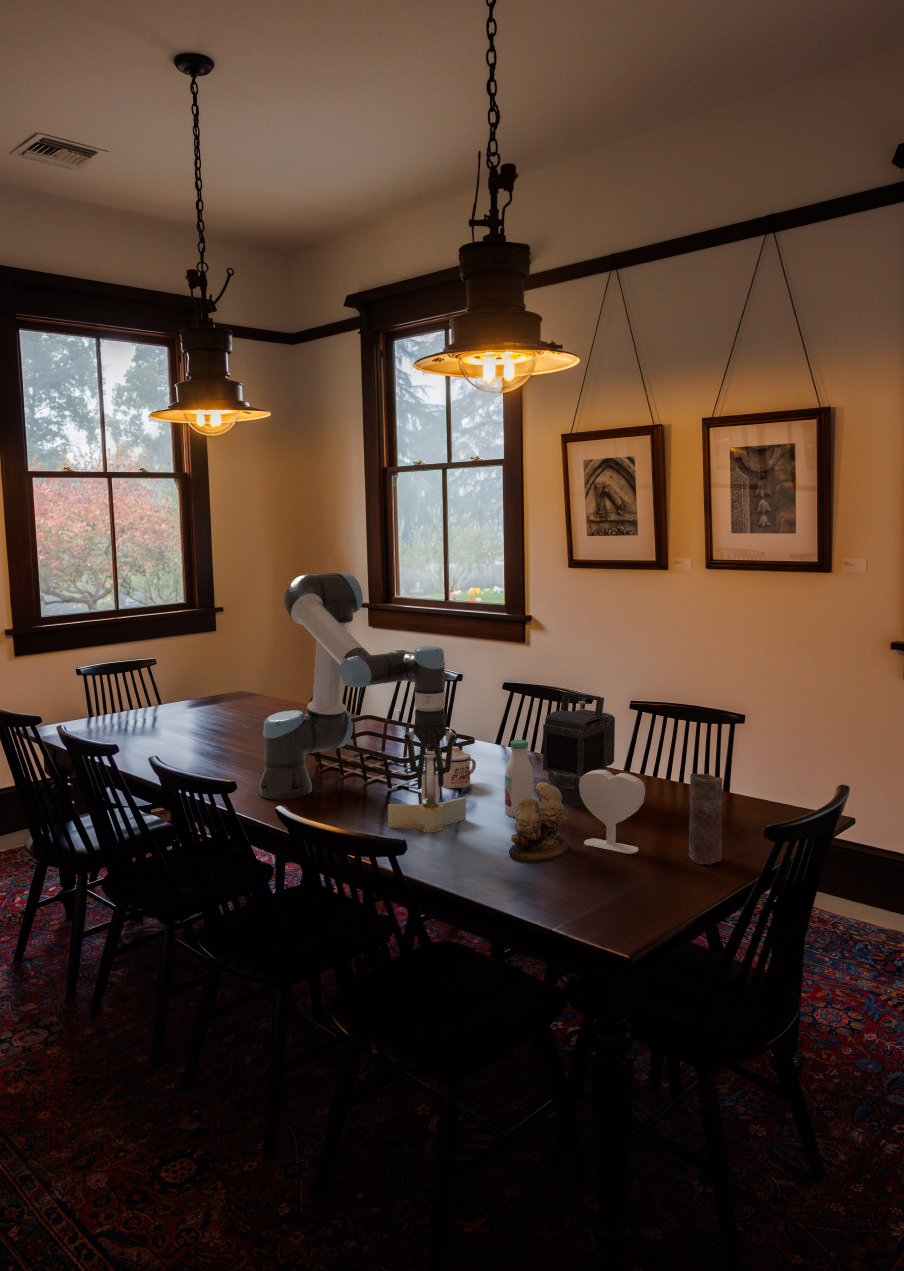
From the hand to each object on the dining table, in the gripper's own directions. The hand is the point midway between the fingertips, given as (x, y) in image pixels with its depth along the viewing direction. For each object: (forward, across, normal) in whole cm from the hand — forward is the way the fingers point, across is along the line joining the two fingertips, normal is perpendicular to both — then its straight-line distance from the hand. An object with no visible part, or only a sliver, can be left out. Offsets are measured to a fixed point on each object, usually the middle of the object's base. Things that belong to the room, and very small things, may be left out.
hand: (430, 798), depth 221 cm
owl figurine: (+8, +28, -13) cm, 32 cm away
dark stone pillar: (+8, +66, -15) cm, 68 cm away
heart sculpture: (+8, +45, -8) cm, 46 cm away
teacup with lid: (+8, +3, +40) cm, 41 cm away
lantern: (+8, +38, +29) cm, 49 cm away
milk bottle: (+8, +22, +14) cm, 27 cm away
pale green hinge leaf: (+8, +3, +3) cm, 9 cm away
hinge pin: (+1, 0, 0) cm, 1 cm away
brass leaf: (+8, -4, 0) cm, 9 cm away
